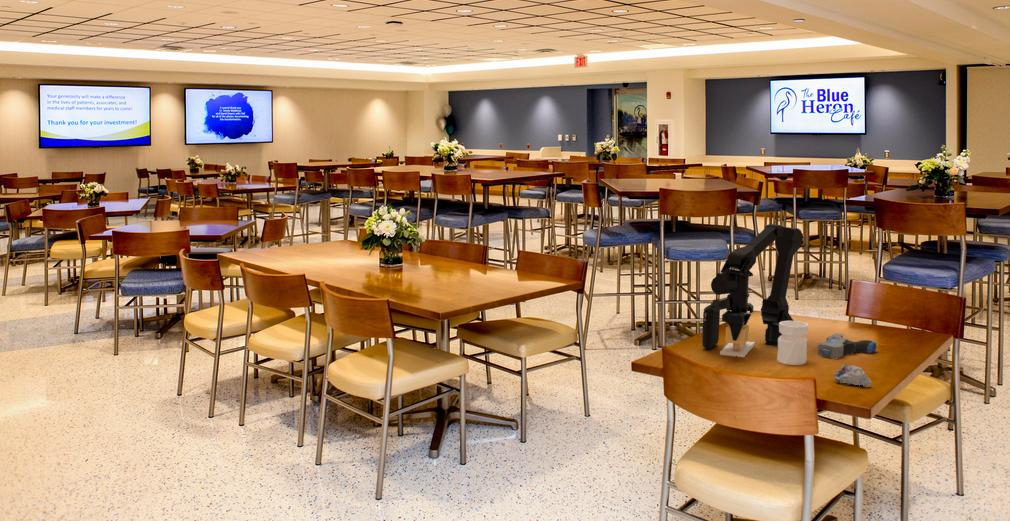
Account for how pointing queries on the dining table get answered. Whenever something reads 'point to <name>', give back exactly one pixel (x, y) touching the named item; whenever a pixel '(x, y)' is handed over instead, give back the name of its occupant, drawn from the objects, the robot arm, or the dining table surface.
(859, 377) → the mineral specimen
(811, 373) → the dining table surface
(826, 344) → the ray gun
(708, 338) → the carrying case or bag
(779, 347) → the white plastic jar
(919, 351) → the dining table surface
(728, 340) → the tan block
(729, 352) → the plate
